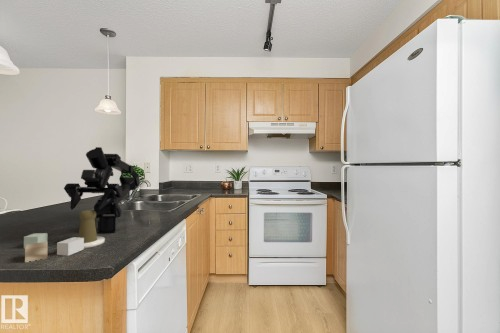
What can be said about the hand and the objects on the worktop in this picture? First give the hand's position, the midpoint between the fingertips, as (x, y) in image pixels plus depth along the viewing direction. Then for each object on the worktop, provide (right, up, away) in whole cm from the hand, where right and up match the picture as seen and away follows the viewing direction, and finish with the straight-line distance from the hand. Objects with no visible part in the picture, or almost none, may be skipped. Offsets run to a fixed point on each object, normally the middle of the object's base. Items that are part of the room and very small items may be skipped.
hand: (85, 208), depth 87 cm
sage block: (-16, -13, -2) cm, 20 cm away
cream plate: (0, -13, +1) cm, 13 cm away
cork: (0, -12, +2) cm, 12 cm away
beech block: (-6, -13, -13) cm, 19 cm away
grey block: (0, -13, -7) cm, 15 cm away
